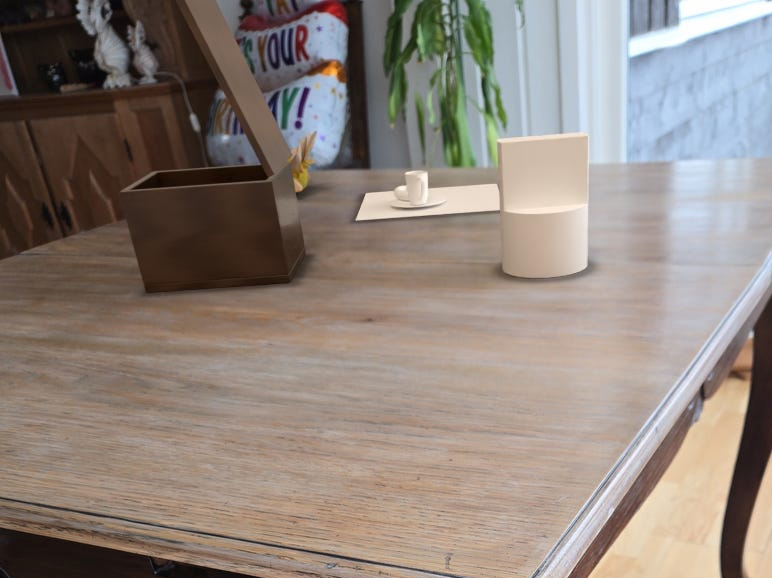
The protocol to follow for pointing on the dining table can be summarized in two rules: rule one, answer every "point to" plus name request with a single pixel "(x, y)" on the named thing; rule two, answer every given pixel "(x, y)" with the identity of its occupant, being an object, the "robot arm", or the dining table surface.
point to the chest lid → (237, 82)
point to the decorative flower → (302, 161)
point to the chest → (214, 227)
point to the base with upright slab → (544, 204)
